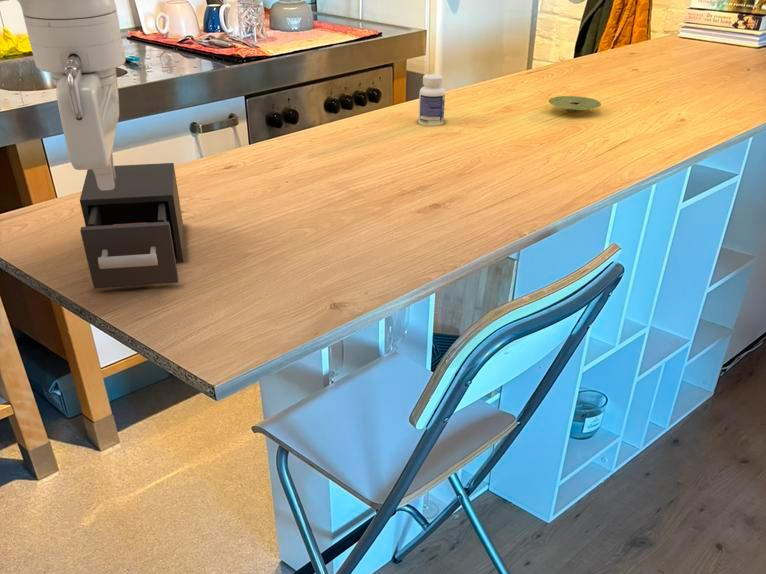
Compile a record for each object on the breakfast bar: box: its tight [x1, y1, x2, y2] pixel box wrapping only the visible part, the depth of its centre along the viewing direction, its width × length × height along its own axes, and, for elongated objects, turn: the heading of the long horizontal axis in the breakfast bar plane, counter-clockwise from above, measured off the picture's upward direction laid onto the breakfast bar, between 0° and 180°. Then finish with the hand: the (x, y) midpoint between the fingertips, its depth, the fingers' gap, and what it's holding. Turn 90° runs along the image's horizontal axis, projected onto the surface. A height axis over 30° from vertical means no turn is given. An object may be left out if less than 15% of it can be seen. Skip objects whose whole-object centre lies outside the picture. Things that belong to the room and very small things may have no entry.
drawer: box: [79, 201, 179, 289], centre depth 108 cm, size 17×11×8 cm, turn 11°
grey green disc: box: [548, 95, 602, 113], centre depth 177 cm, size 11×11×2 cm
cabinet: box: [79, 162, 185, 264], centre depth 116 cm, size 14×12×10 cm
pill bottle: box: [418, 73, 446, 127], centre depth 166 cm, size 5×5×9 cm
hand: (107, 186), depth 90 cm, fingers closed
